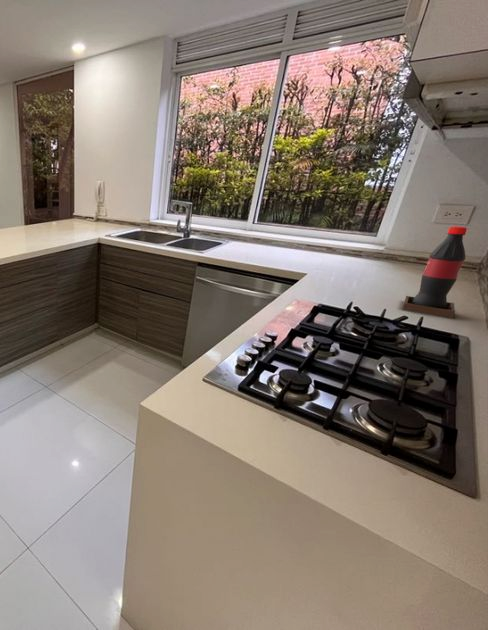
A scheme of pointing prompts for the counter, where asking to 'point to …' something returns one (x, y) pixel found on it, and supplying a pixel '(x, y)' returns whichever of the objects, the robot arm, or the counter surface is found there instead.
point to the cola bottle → (442, 270)
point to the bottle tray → (429, 308)
